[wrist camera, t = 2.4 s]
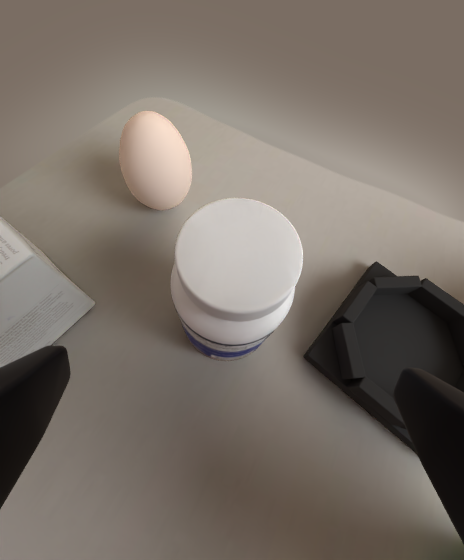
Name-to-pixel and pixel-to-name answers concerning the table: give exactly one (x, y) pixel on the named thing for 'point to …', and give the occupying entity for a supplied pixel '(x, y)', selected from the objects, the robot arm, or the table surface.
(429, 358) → the foot pad
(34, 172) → the table surface
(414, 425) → the robot arm
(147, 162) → the egg
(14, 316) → the white cardboard box
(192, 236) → the pill bottle
